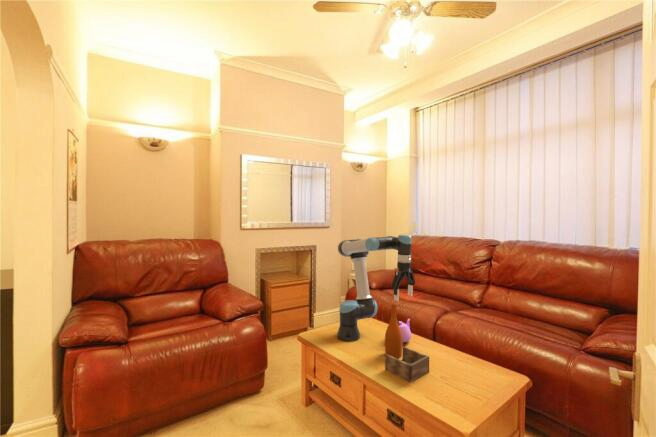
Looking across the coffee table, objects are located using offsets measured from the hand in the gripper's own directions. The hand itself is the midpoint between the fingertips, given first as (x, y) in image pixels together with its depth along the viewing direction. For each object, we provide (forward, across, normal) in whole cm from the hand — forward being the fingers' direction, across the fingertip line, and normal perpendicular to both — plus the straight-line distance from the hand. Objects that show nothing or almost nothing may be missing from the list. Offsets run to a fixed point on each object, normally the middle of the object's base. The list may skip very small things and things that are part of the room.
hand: (403, 298), depth 180 cm
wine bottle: (+34, -4, +3) cm, 34 cm away
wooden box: (+33, -14, -13) cm, 38 cm away
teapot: (+34, +16, +12) cm, 40 cm away
